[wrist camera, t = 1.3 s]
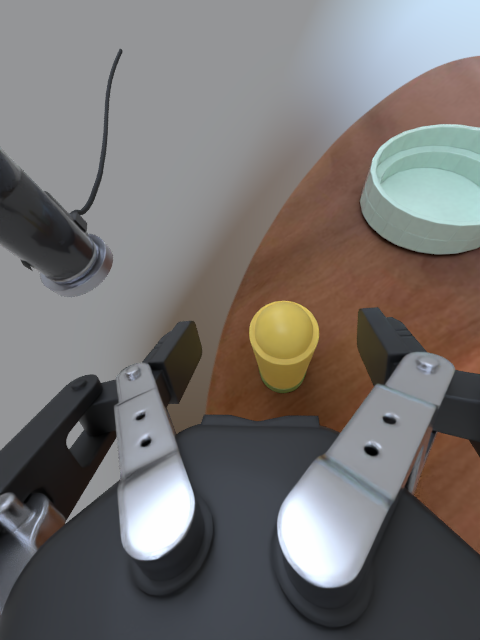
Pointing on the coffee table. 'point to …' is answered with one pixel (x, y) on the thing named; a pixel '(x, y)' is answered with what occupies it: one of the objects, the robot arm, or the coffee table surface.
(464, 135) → the basin
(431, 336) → the coffee table surface
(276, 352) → the corn cob
